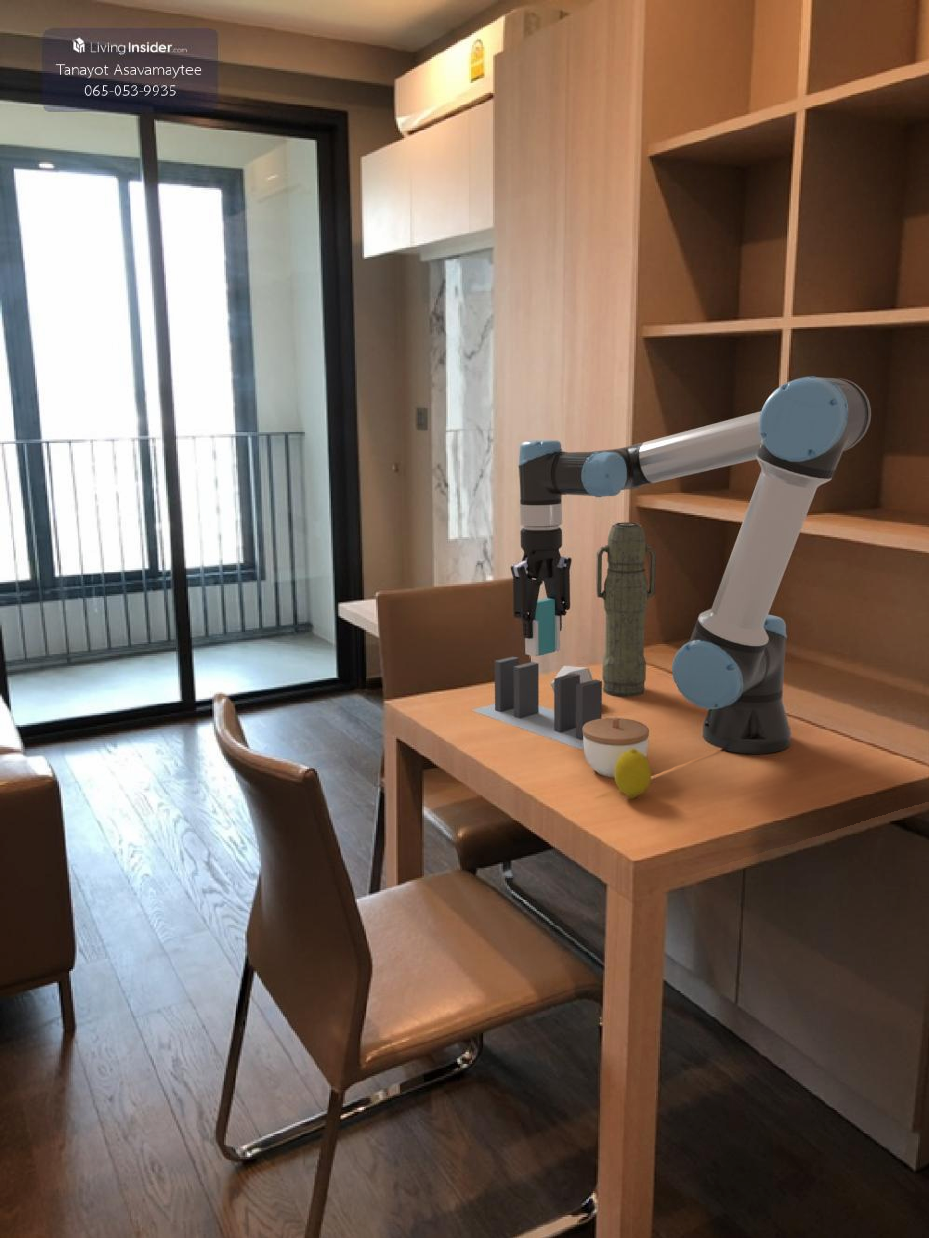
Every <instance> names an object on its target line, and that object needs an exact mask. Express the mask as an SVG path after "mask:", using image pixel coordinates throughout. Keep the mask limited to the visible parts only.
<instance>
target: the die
mask: <svg viewBox="0 0 929 1238" xmlns="http://www.w3.org/2000/svg"><path fill="white" fill-rule="evenodd" d="M573 673H575V674H578V675H580V683H584V682H588V681H591V680H594V678H593V677H592V674H591V672H590V668H589V667H584V666H583V667H582V666H572V665H563V666H562V667H561V669H560V670H559V671H558V673H557V675H556V676H555V677H554V678H558V677H561V676H565V675H569V674H573ZM550 686H551V689H552V692H554V679H553V680H552V681H551V682H550Z"/></svg>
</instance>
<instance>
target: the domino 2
mask: <svg viewBox="0 0 929 1238" xmlns="http://www.w3.org/2000/svg"><path fill="white" fill-rule="evenodd" d="M539 672H540V671H539V663H538V662H535V661H530V662H526V663H522V664H519V665H518V666H514V717H516V718H519V719H520V718H524V717H527V716H530V715H534V714H537V713H539V706H540V705H539V697H540V696H539V693H540V690H539V689H540V688H539V687H540V686H539V680H540V679H539V678H540V677H539V674H540V673H539Z"/></svg>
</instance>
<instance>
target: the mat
mask: <svg viewBox="0 0 929 1238" xmlns="http://www.w3.org/2000/svg"><path fill="white" fill-rule="evenodd" d="M470 711H471V712H475V713H477V714H480V715H483V716H486V717H488V718H491V719H493V720H497V721H500V722H502V723H505V724H507V725H508V724H509V725H511V726H514V727H517V728H519V729H522V730H525V731H528V732H531V733H533V734H536V735H539V736H541V737H545V738H547V739H550V740H553V741H555V742H558V743H561V744H565V745H567V746H570V747H573V748H575V749H578V750H584V745H583V740H580V739H577V738H576V728H574V729H571V730H568V731H564V732H561V733H560V732H557V731H554V709H552V708H548V707H546V706H542V705H539V713H537V714H534V715H530V716H527V717H524V718H520V719H519V718H516V717H514V708H513V709H510V710H506V711H503V712H499V711H496V710H495V703H492V704H489V705H485V706H482V707H478V708H474V709H471V710H470Z"/></svg>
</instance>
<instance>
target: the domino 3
mask: <svg viewBox="0 0 929 1238" xmlns="http://www.w3.org/2000/svg"><path fill="white" fill-rule="evenodd" d="M553 680H554V691H553V694H554V697H553V698H554V699H553V702H554V703H553V704H554V705H553V706H554V707H553V710H554V731H557V732H560V733H561V732H564V731H568V730H571V729H574V728H576V685H577V684H580V675H578V674H575V673H573V674H569V675H565V676H561V677H558V678H555V677H554V679H553Z"/></svg>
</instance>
